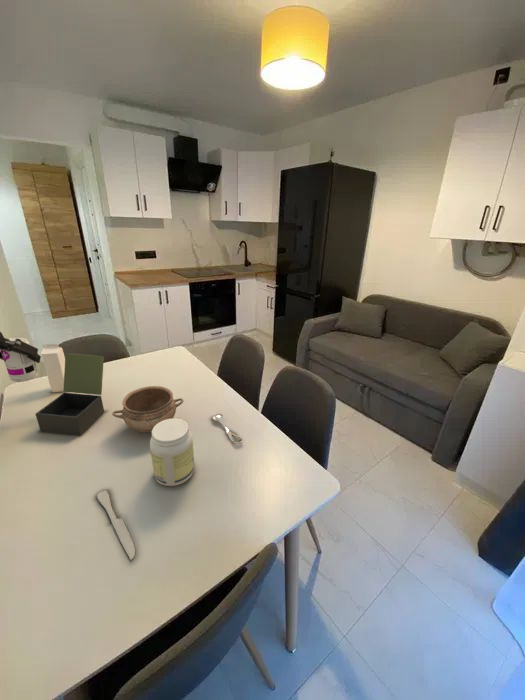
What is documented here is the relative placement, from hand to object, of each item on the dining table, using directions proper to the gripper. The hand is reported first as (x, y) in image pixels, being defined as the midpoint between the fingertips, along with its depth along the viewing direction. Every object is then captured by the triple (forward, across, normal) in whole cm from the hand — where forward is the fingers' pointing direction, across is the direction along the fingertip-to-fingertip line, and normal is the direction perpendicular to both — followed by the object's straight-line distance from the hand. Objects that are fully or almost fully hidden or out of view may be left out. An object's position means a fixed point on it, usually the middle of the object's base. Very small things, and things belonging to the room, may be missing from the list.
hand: (25, 359), depth 109 cm
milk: (+27, +1, -5) cm, 27 cm away
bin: (+9, +16, -22) cm, 29 cm away
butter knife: (-24, +43, -55) cm, 74 cm away
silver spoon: (0, +74, -31) cm, 80 cm away
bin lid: (+4, +19, -5) cm, 20 cm away
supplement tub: (-13, +56, -44) cm, 73 cm away
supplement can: (+2, 0, -6) cm, 7 cm away
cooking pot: (+5, +46, -27) cm, 53 cm away
